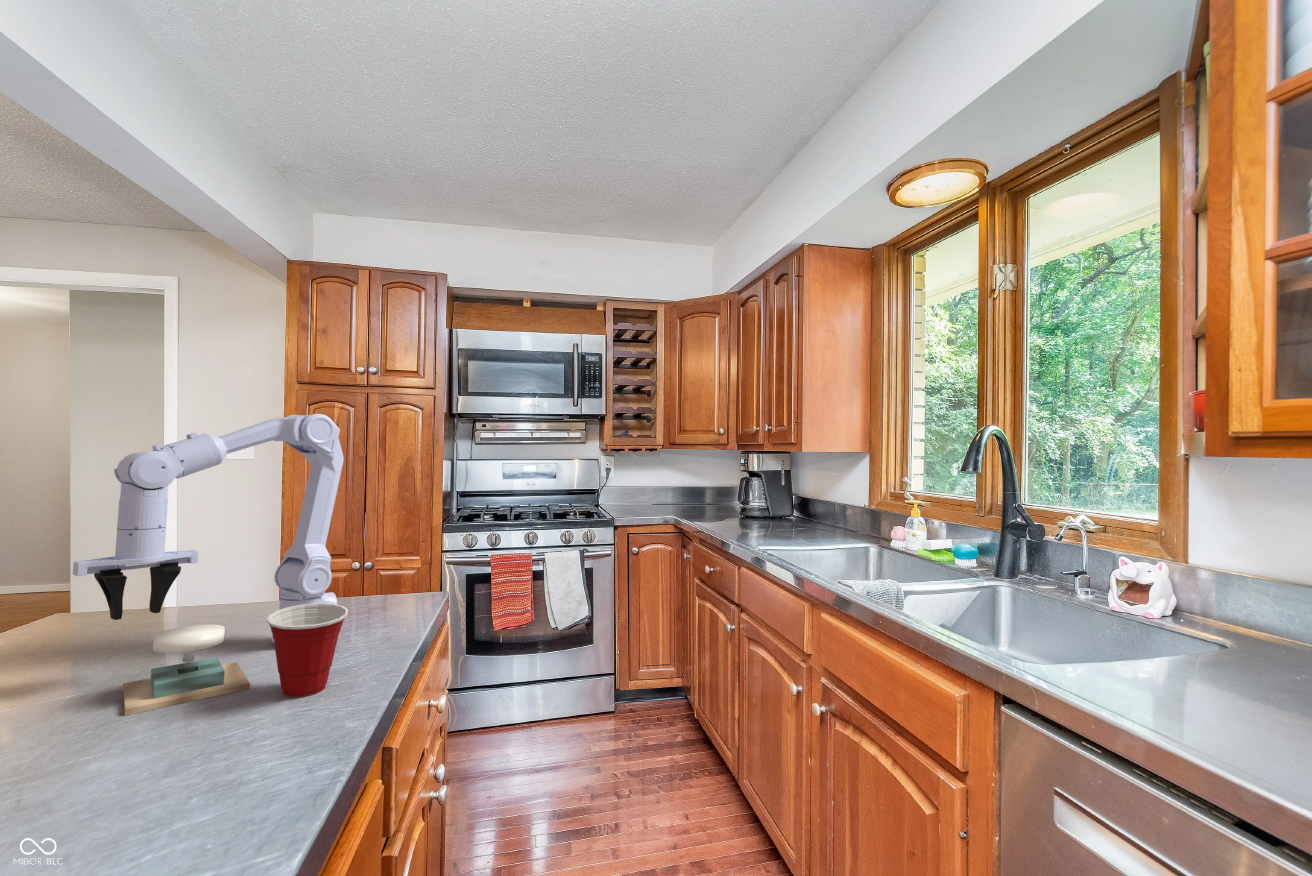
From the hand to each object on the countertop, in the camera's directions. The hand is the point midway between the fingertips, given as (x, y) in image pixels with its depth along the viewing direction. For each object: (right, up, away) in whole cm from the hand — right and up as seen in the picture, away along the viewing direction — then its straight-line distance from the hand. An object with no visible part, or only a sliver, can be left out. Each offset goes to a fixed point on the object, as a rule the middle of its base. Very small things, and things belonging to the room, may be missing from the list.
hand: (135, 615), depth 88 cm
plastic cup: (+27, -11, -1) cm, 30 cm away
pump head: (+10, -6, -2) cm, 12 cm away
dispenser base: (+10, -11, -2) cm, 14 cm away
